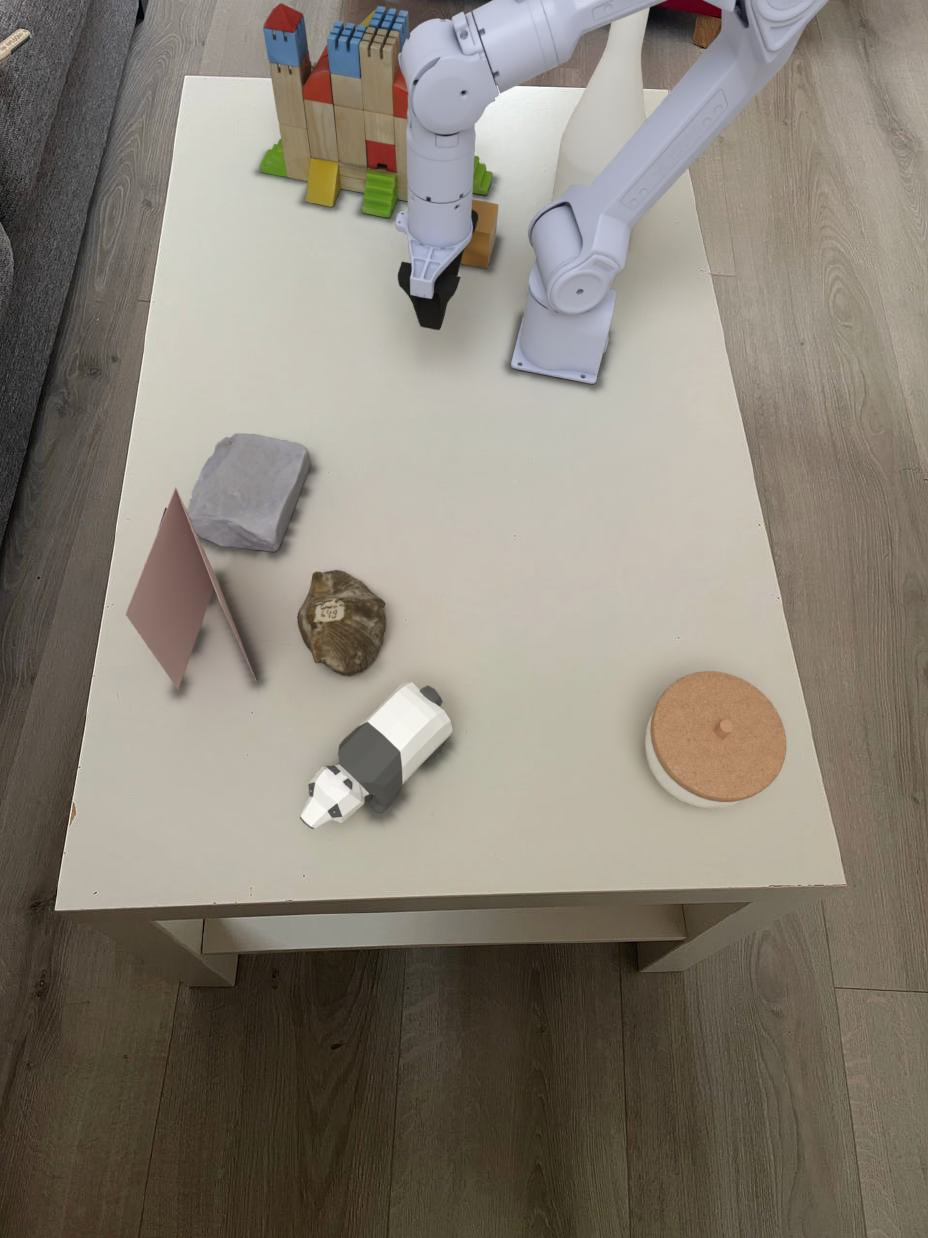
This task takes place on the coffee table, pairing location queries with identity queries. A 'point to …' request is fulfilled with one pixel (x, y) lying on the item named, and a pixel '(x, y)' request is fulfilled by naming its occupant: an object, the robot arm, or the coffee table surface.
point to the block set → (344, 110)
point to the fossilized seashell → (342, 622)
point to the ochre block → (482, 235)
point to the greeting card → (175, 592)
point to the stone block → (248, 491)
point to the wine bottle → (605, 108)
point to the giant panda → (379, 755)
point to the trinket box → (714, 740)
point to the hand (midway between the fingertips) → (437, 302)
